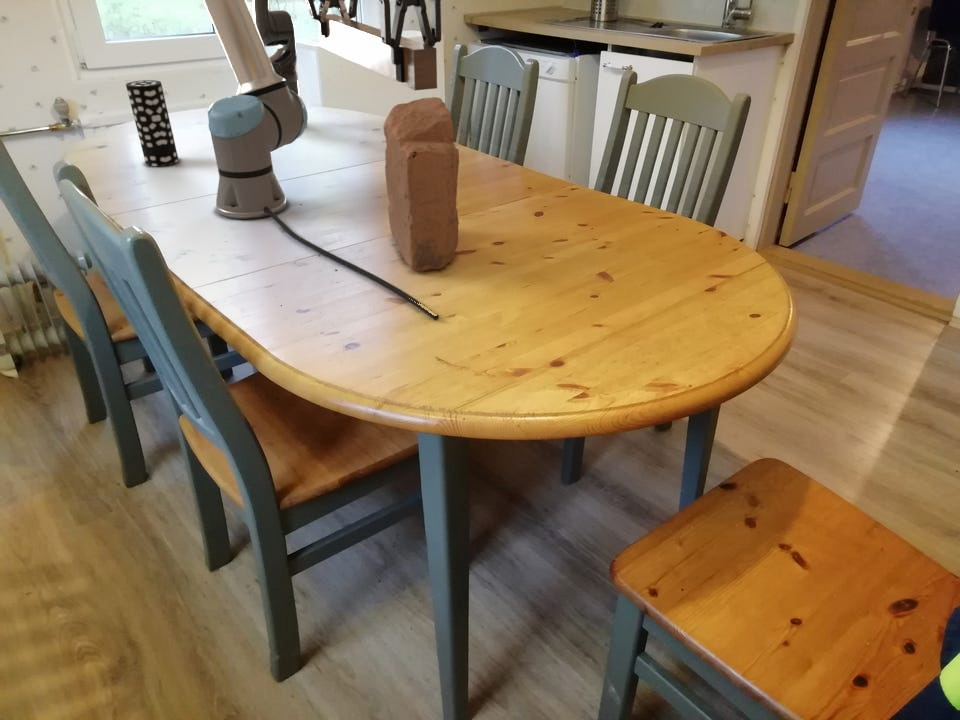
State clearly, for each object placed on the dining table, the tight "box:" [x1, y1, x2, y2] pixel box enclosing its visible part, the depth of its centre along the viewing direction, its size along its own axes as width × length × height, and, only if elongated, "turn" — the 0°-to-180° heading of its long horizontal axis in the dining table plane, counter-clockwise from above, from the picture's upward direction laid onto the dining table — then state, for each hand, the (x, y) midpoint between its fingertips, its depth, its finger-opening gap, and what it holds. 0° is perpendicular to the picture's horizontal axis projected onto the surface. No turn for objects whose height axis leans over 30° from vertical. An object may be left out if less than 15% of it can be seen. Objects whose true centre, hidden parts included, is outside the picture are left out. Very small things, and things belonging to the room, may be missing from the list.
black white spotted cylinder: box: [125, 79, 179, 167], centre depth 181 cm, size 8×8×20 cm
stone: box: [383, 96, 460, 272], centre depth 131 cm, size 22×11×28 cm, turn 18°
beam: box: [316, 13, 438, 91], centre depth 162 cm, size 62×5×8 cm, turn 29°
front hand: (412, 79), depth 145 cm, fingers closed on beam, 5 cm apart
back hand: (335, 36), depth 180 cm, fingers closed on beam, 5 cm apart
